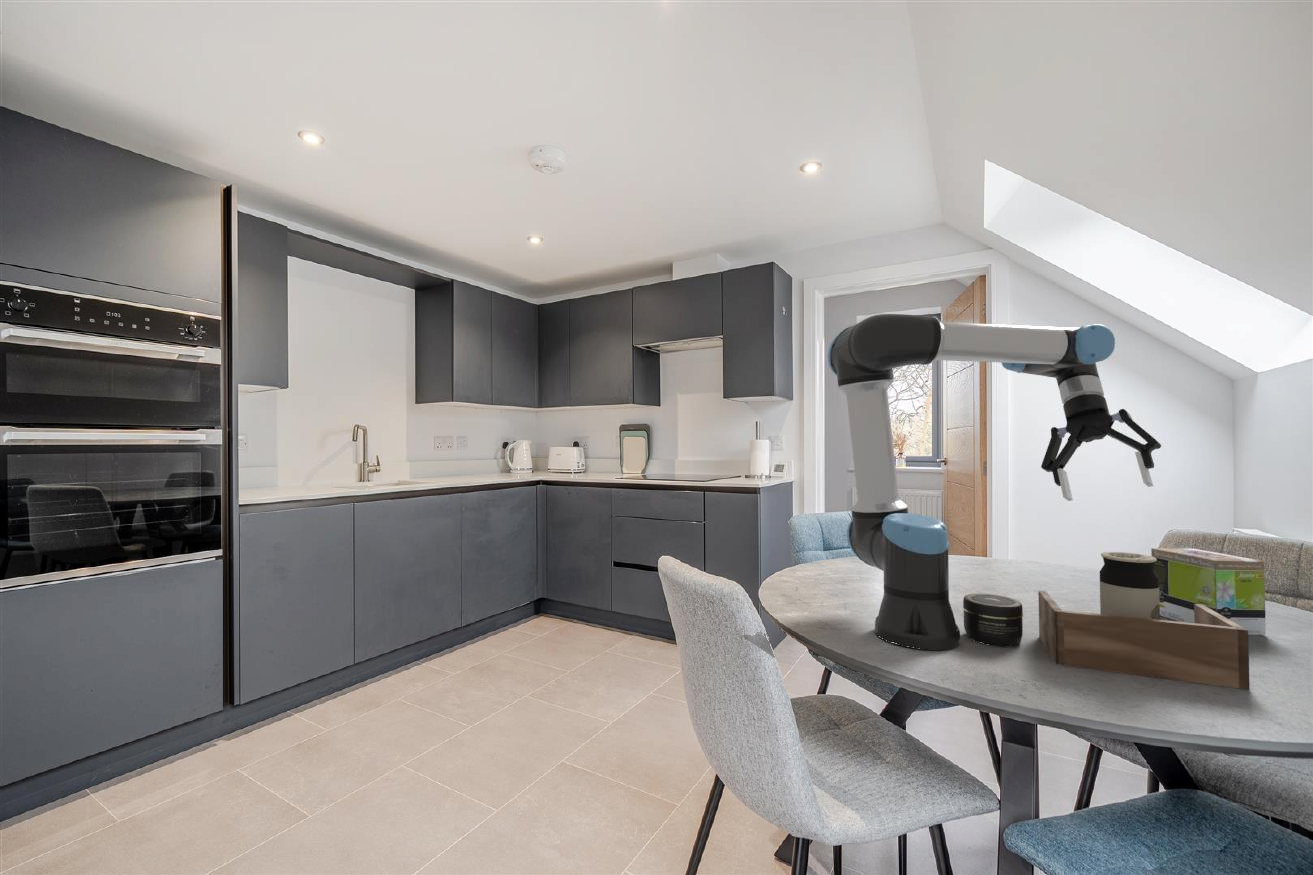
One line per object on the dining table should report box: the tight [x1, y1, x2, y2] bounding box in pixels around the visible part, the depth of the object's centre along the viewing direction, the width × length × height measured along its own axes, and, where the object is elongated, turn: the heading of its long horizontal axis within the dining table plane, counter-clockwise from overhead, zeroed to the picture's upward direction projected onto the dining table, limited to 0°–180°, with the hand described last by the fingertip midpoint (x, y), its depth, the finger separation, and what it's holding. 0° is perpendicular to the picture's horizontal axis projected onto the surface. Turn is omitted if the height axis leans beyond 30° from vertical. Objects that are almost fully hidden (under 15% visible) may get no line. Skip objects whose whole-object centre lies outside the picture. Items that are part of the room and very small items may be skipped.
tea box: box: [1150, 547, 1267, 636], centre depth 117 cm, size 15×10×15 cm, turn 179°
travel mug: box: [1099, 551, 1161, 620], centre depth 98 cm, size 8×8×18 cm
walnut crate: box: [1037, 590, 1251, 691], centre depth 98 cm, size 15×24×9 cm, turn 65°
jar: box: [962, 593, 1024, 647], centre depth 109 cm, size 10×10×8 cm
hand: (1106, 492), depth 114 cm, fingers open, 13 cm apart
